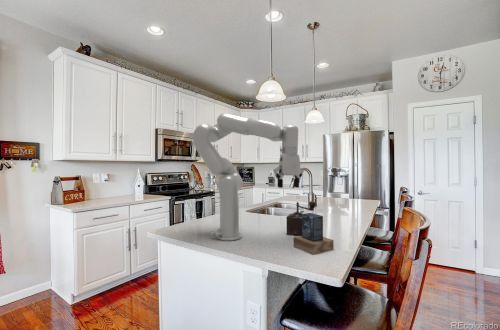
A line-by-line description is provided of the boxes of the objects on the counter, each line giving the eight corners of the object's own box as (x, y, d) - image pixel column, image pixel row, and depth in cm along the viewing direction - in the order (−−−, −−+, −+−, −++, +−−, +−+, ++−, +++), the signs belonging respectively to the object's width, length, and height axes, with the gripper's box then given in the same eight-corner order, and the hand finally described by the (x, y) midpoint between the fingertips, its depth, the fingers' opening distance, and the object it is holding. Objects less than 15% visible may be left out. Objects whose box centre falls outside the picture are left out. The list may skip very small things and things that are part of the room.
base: (313, 254, 102) (313, 244, 102) (293, 246, 112) (293, 237, 112) (333, 249, 108) (333, 240, 108) (313, 242, 118) (313, 233, 118)
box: (301, 237, 112) (301, 213, 112) (311, 235, 115) (311, 212, 115) (313, 242, 105) (312, 216, 105) (323, 240, 108) (323, 215, 108)
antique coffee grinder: (285, 235, 131) (285, 200, 131) (289, 229, 141) (289, 197, 141) (316, 238, 125) (315, 201, 126) (318, 232, 136) (318, 199, 136)
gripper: (279, 150, 113) (278, 188, 113) (308, 152, 122) (307, 187, 122) (270, 151, 120) (268, 186, 120) (298, 152, 128) (297, 186, 128)
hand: (288, 187), depth 121 cm, fingers open, 9 cm apart
